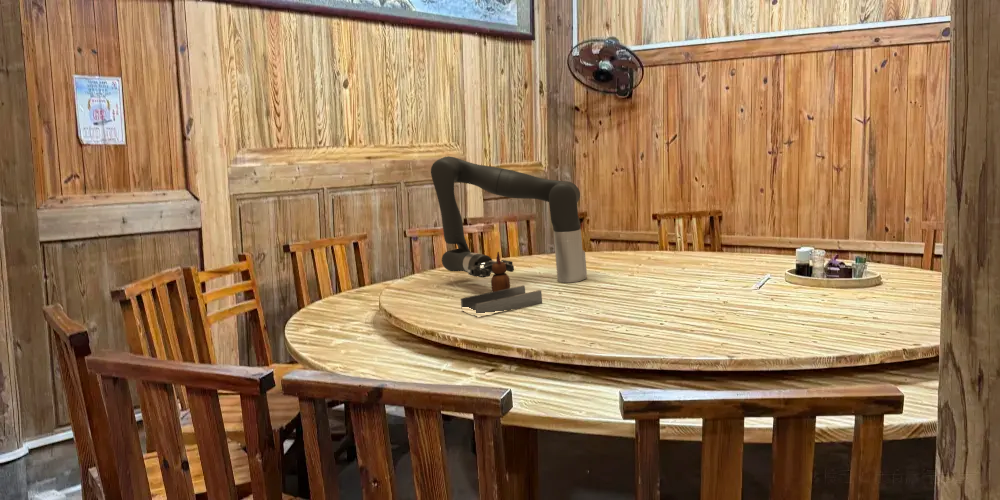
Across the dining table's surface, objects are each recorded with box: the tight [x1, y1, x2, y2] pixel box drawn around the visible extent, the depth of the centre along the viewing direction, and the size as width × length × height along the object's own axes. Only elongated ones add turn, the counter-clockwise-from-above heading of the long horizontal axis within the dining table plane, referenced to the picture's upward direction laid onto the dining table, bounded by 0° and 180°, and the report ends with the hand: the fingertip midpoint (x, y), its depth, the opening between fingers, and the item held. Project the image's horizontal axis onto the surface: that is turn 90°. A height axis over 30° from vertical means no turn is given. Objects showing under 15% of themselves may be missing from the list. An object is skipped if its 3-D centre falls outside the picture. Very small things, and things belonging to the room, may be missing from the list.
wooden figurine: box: [490, 251, 511, 292], centre depth 268 cm, size 7×6×15 cm
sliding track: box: [460, 285, 543, 313], centre depth 255 cm, size 22×11×4 cm, turn 118°
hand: (500, 270), depth 267 cm, fingers open, 8 cm apart
